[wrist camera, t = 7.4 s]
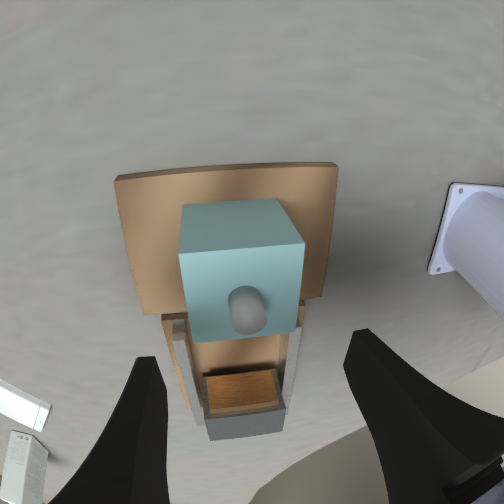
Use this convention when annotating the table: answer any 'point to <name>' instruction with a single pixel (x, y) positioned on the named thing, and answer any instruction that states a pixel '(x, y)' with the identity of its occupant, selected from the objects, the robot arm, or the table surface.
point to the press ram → (242, 404)
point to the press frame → (169, 272)
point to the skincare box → (23, 470)
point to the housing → (240, 269)
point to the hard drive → (23, 406)
